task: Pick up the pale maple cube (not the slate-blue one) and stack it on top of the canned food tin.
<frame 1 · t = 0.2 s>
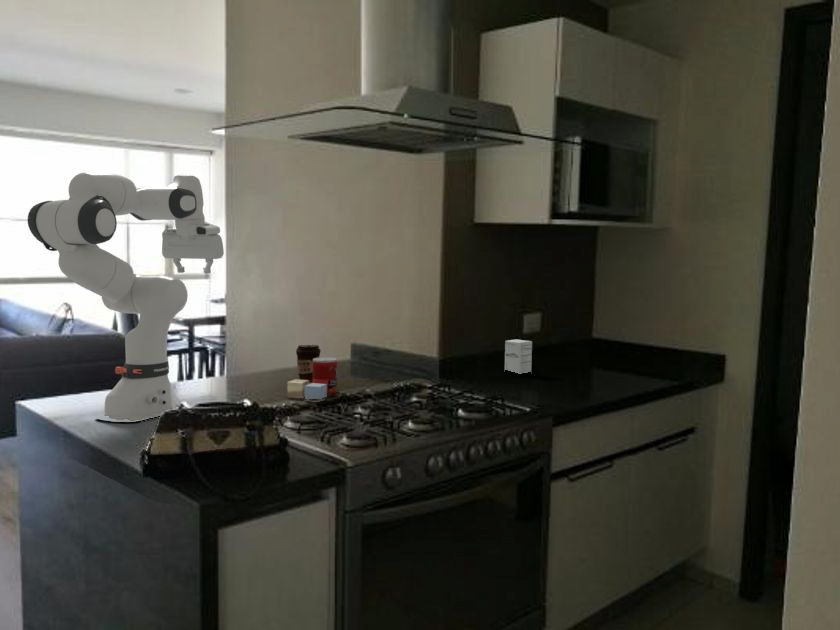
hand: (194, 272, 234), 39 cm above the counter, tool pointing down, fingers open, 8 cm apart
supplement box: (517, 374, 280), on the counter
maple block: (298, 396, 238), on the counter
canned food: (325, 392, 245), on the counter
slate block: (315, 401, 231), on the counter
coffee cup: (308, 383, 262), on the counter
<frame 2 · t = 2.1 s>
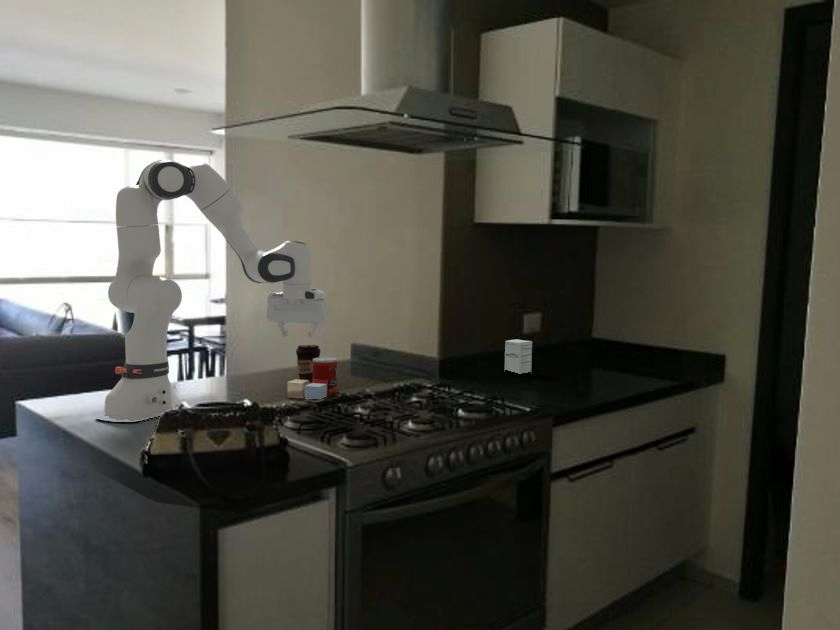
hand: (297, 336, 236), 19 cm above the counter, tool pointing down, fingers open, 8 cm apart
nothing on the counter moved.
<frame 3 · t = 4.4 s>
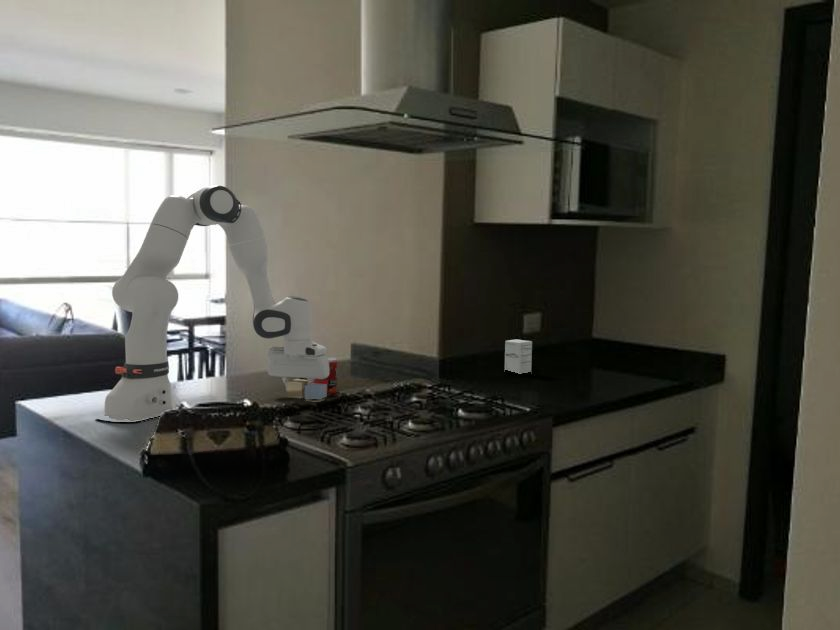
hand: (298, 391, 237), 2 cm above the counter, tool pointing down, fingers closed on maple block, 5 cm apart
maple block: (298, 396, 238), on the counter, touching gripper
everything else where it was.
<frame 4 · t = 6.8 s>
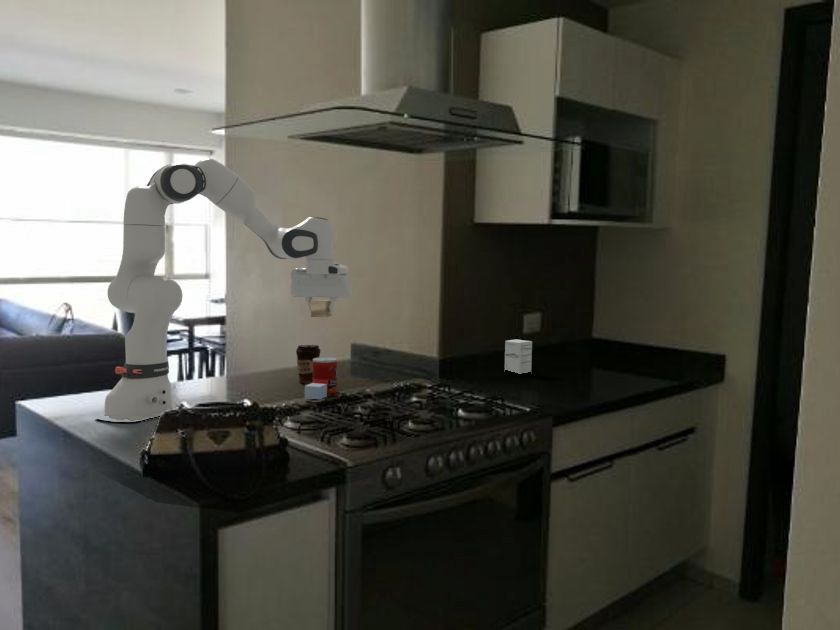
hand: (321, 311, 241), 27 cm above the counter, tool pointing down, fingers closed on maple block, 5 cm apart
maple block: (321, 316, 241), point 25 cm above the counter, touching gripper
everything else where it was.
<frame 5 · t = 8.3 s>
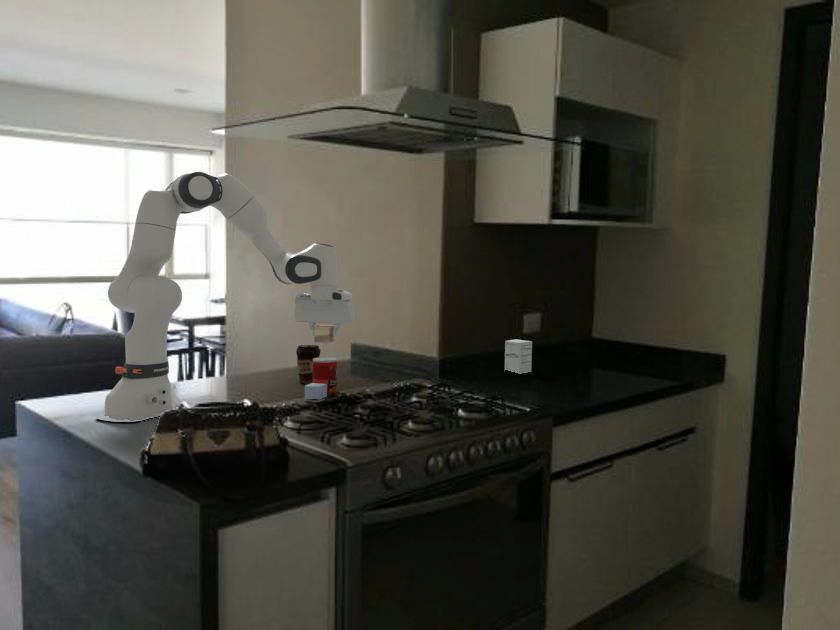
hand: (324, 336, 243), 18 cm above the counter, tool pointing down, fingers closed on maple block, 5 cm apart
maple block: (324, 341, 243), point 17 cm above the counter, touching gripper
everything else where it was.
when the fingers open (14 cm above the counter, at t = 9.6 s): maple block drops 1 cm, resting on canned food.
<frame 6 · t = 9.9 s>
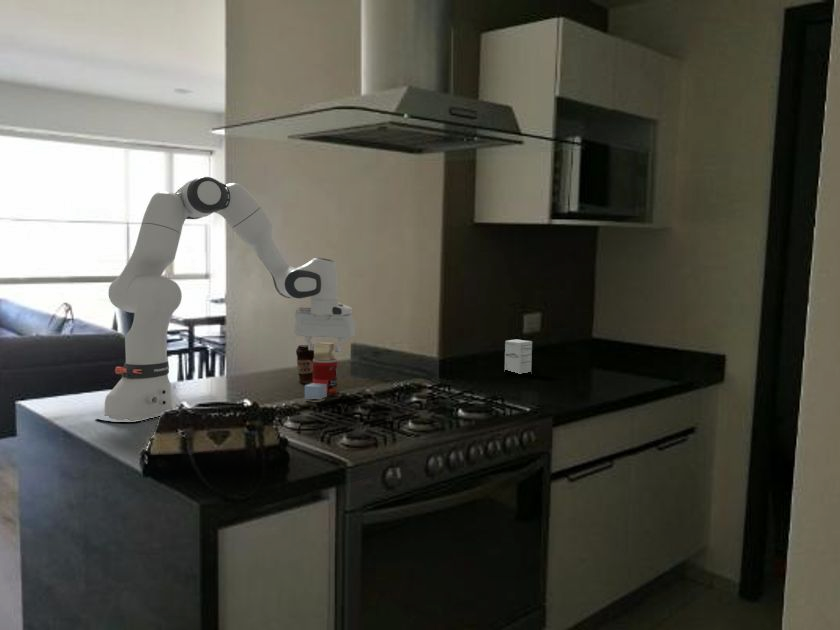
hand: (324, 350, 243), 14 cm above the counter, tool pointing down, fingers open, 8 cm apart
maple block: (324, 359, 243), point 11 cm above the counter, touching canned food
canned food: (325, 393, 245), on the counter, touching maple block
everything else where it was.
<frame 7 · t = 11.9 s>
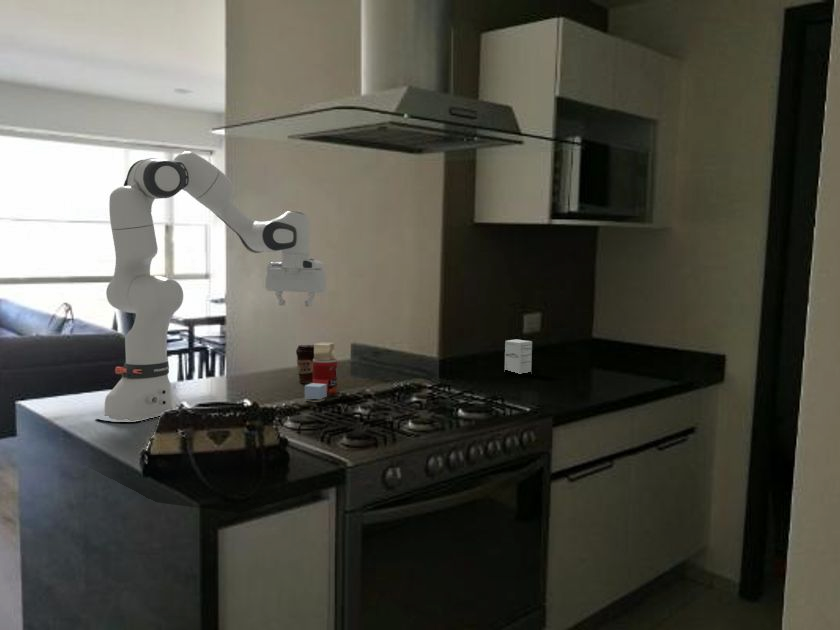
hand: (295, 305, 241), 28 cm above the counter, tool pointing down, fingers open, 8 cm apart
nothing on the counter moved.
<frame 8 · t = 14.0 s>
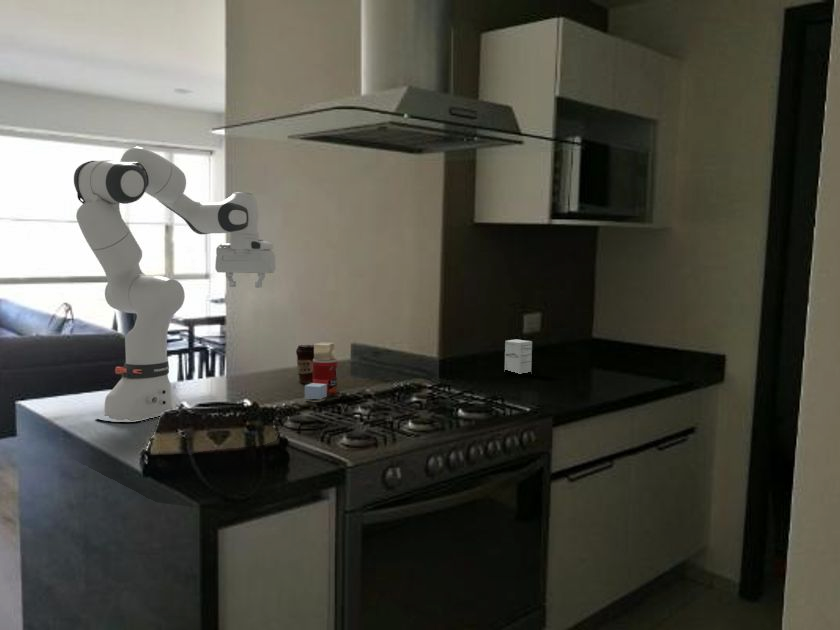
hand: (245, 287, 241), 34 cm above the counter, tool pointing down, fingers open, 8 cm apart
nothing on the counter moved.
at the end: maple block inside the target area on the canned food (0.1 cm from its centre), point 11.2 cm above the canned food's base; canned food tilted 0°; the gripper is holding nothing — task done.
